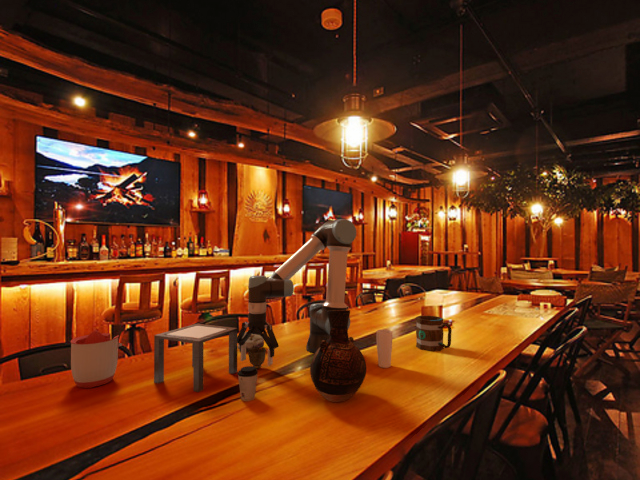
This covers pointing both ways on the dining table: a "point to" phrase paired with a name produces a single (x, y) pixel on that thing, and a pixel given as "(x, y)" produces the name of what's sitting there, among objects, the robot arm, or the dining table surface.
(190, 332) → the trapdoor
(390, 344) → the drinking glass
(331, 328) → the ceramic vessel
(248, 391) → the coffee cup
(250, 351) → the brown rounded piece
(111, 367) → the citrus juicer
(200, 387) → the stand
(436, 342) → the mug
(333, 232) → the robot arm
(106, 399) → the dining table surface
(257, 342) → the geode
